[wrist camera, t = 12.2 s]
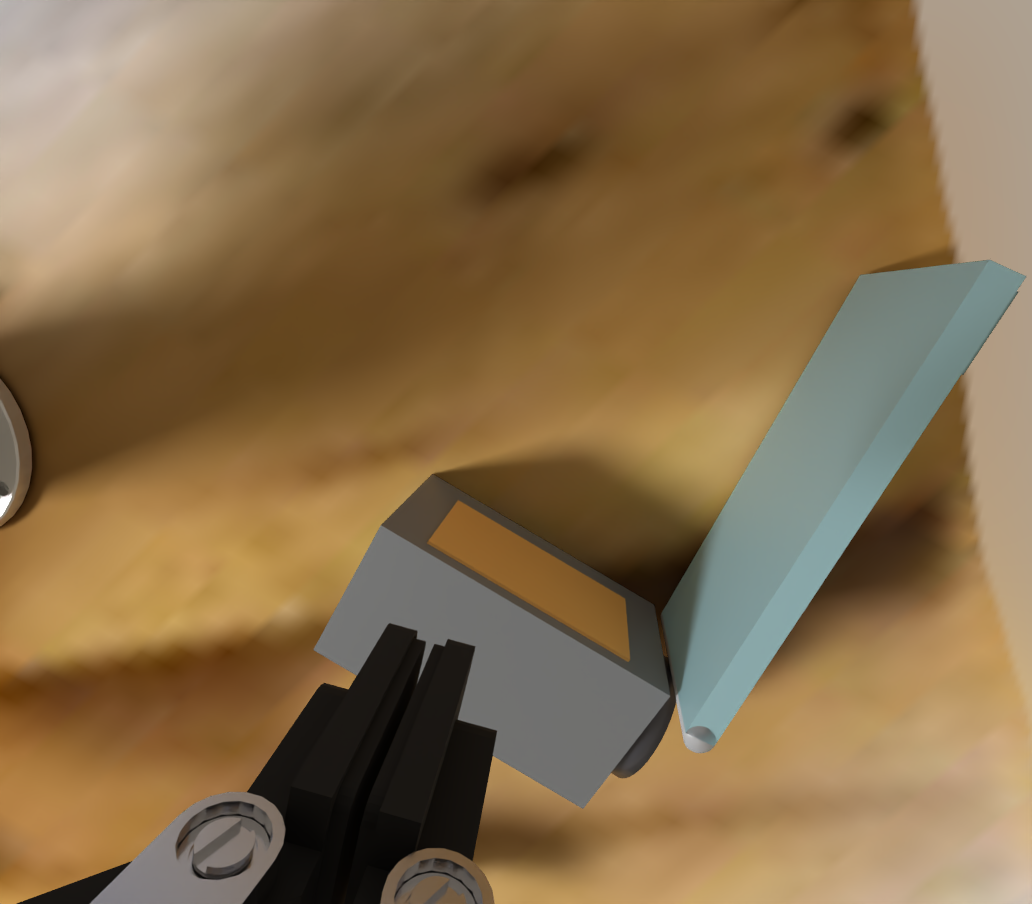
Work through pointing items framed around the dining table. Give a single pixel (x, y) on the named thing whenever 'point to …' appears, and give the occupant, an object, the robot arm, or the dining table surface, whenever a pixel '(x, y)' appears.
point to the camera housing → (516, 638)
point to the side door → (821, 476)
